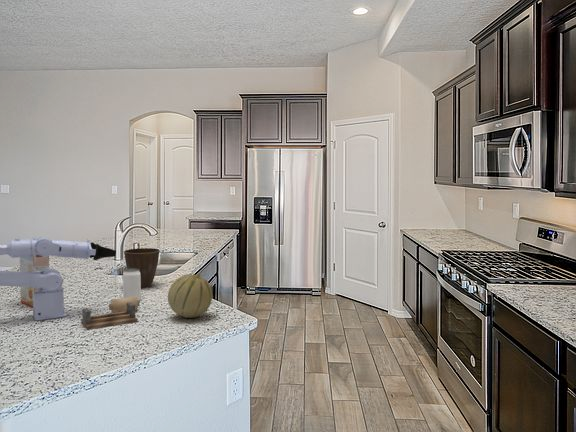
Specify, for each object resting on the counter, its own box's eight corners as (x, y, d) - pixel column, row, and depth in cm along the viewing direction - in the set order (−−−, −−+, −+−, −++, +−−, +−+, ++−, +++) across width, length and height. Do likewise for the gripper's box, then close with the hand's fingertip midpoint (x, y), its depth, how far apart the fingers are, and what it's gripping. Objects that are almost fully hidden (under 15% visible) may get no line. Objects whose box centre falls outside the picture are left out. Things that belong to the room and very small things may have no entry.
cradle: (87, 329, 150) (87, 313, 149) (81, 321, 158) (80, 306, 158) (137, 321, 158) (137, 306, 158) (129, 314, 166) (128, 300, 166)
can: (134, 297, 191) (134, 267, 191) (144, 300, 187) (143, 269, 186) (120, 300, 186) (119, 270, 186) (129, 303, 182) (128, 272, 181)
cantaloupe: (165, 313, 168) (164, 271, 167) (206, 309, 174) (206, 268, 173) (172, 325, 154) (171, 279, 153) (217, 320, 160) (216, 275, 159)
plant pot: (160, 289, 207) (160, 252, 206) (123, 291, 203) (123, 253, 202) (159, 282, 221) (159, 247, 220) (125, 284, 217) (124, 248, 216)
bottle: (111, 315, 166) (111, 301, 165) (108, 312, 170) (107, 298, 169) (140, 311, 171) (140, 297, 171) (136, 308, 175) (136, 295, 175)
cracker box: (51, 305, 179) (49, 249, 177) (33, 308, 174) (31, 251, 173) (37, 299, 188) (35, 246, 187) (20, 302, 184) (18, 247, 182)
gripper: (77, 238, 161) (119, 242, 168) (71, 236, 173) (110, 240, 180) (74, 259, 161) (116, 262, 168) (68, 256, 173) (108, 259, 180)
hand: (113, 252), depth 174 cm, fingers open, 7 cm apart
